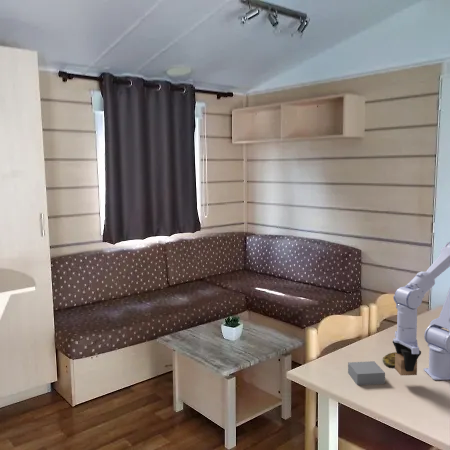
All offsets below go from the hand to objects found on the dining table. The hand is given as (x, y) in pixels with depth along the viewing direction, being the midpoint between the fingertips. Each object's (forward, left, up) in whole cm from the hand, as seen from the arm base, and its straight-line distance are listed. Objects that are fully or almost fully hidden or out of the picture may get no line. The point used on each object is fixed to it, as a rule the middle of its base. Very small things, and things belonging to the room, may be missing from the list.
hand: (405, 367), depth 149 cm
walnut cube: (0, 0, -2) cm, 2 cm away
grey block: (+11, -5, -6) cm, 14 cm away
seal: (-4, -18, -6) cm, 20 cm away
